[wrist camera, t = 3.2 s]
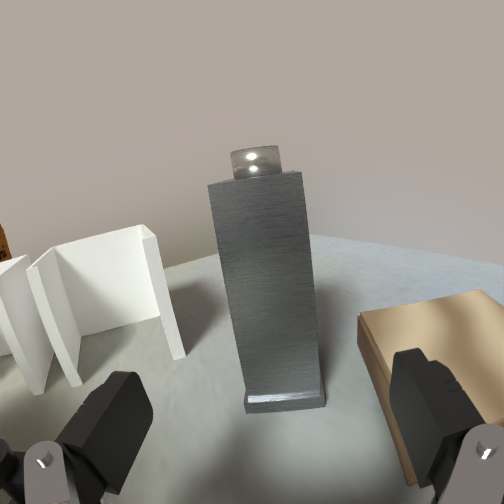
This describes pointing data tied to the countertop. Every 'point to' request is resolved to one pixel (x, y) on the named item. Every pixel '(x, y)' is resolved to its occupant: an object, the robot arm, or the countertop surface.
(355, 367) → the countertop surface
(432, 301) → the stand
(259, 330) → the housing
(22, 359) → the white open-top bins
